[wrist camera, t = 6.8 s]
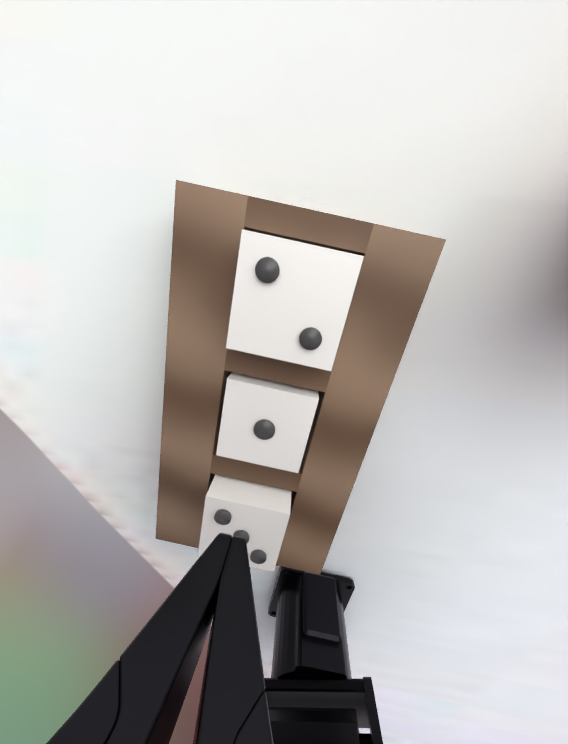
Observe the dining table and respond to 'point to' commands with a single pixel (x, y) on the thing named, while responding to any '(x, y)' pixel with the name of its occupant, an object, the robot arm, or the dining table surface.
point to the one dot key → (266, 422)
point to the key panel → (279, 361)
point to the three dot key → (247, 517)
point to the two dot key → (291, 299)
